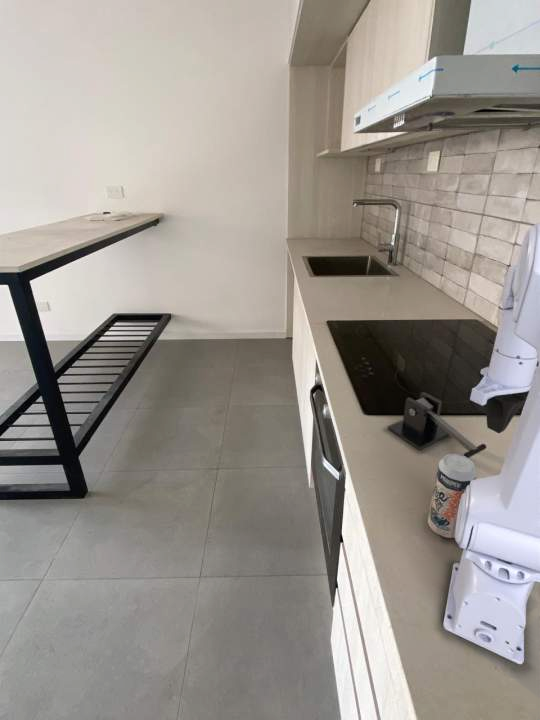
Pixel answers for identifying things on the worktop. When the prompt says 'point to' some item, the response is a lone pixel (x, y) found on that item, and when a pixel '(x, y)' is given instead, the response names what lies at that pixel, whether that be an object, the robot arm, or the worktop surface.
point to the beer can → (449, 492)
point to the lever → (452, 430)
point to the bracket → (419, 424)
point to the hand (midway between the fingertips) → (495, 429)
